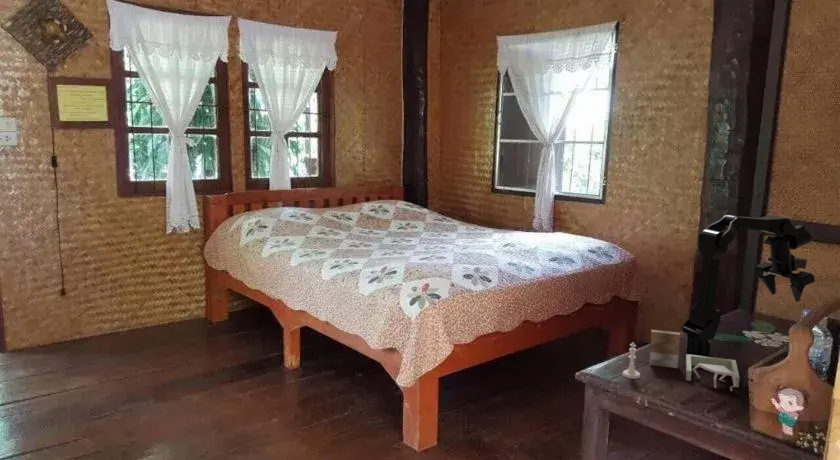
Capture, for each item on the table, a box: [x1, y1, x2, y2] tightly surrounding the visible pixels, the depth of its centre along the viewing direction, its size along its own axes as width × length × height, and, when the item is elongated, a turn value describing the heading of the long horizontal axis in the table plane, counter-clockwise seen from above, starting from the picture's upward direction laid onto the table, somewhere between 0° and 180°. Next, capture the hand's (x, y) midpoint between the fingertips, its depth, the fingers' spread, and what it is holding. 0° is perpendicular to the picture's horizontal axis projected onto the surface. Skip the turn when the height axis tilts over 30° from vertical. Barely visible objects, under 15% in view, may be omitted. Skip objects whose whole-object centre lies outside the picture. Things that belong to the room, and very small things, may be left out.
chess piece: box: [622, 342, 641, 380], centre depth 181 cm, size 5×5×10 cm
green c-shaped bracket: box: [685, 354, 740, 388], centre depth 181 cm, size 13×14×3 cm
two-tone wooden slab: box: [648, 329, 681, 369], centre depth 188 cm, size 8×2×10 cm, turn 68°
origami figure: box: [692, 363, 736, 392], centre depth 176 cm, size 12×8×5 cm
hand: (785, 297), depth 206 cm, fingers open, 9 cm apart
